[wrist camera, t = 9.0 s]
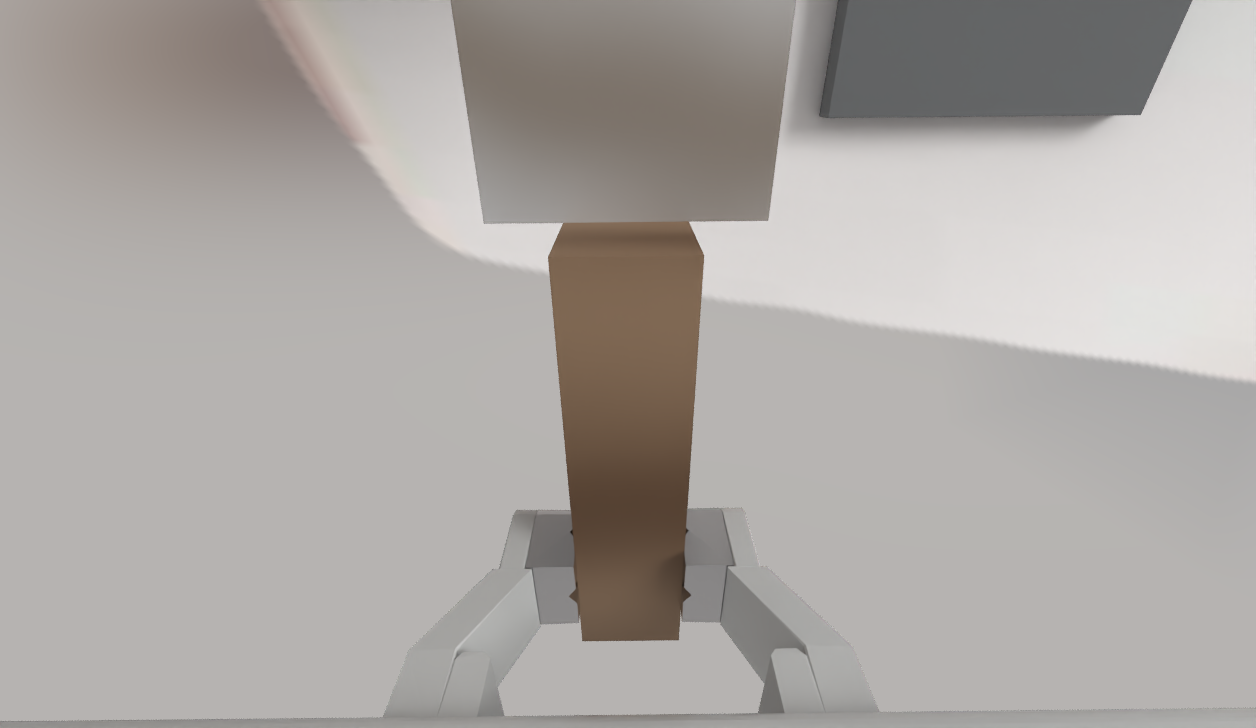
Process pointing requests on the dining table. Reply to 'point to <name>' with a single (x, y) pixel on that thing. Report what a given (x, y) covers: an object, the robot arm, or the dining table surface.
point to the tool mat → (997, 57)
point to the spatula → (625, 240)
